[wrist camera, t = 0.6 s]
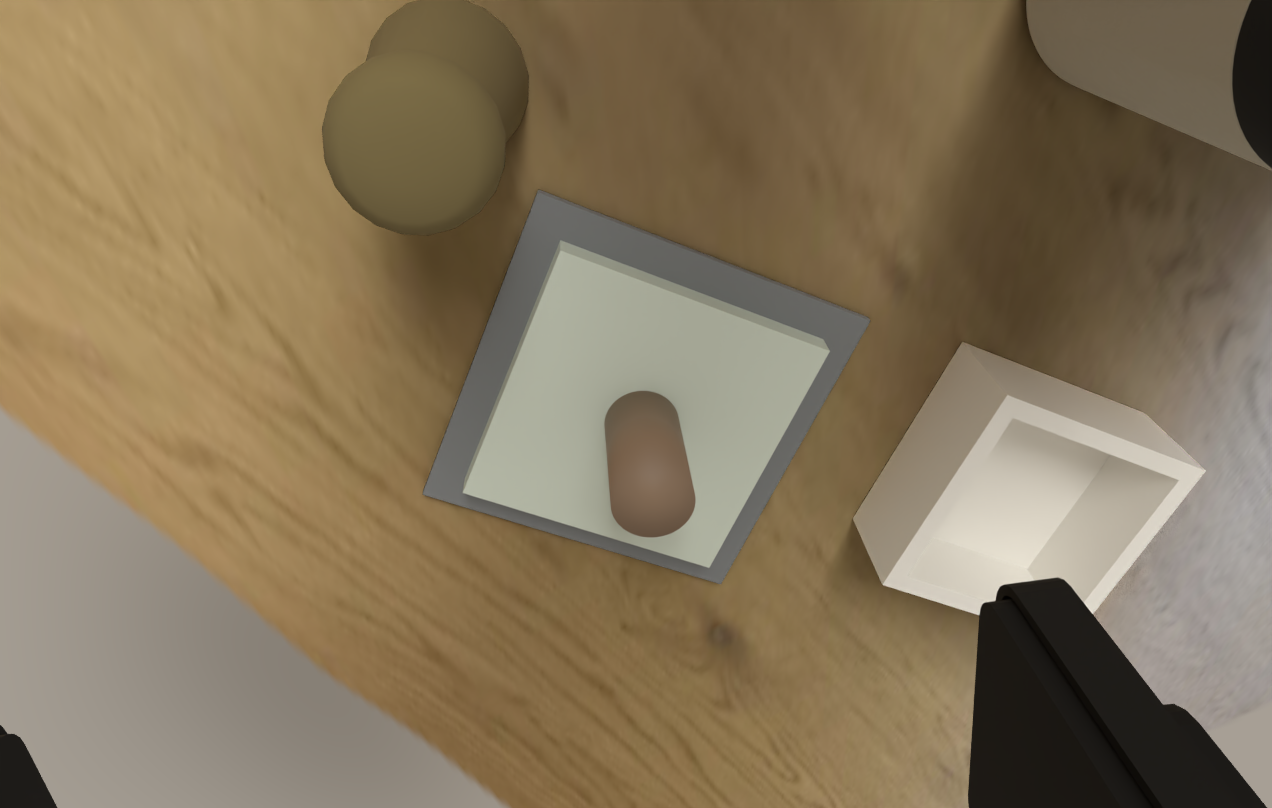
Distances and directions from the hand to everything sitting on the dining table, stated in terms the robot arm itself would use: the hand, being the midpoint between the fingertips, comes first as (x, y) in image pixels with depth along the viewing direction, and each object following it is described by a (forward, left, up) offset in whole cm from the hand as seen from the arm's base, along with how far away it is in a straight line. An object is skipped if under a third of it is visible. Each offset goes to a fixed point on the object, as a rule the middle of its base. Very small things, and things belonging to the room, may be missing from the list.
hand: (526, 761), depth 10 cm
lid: (+11, +8, -31) cm, 34 cm away
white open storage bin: (+8, +25, -32) cm, 41 cm away
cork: (+1, -4, -32) cm, 32 cm away
